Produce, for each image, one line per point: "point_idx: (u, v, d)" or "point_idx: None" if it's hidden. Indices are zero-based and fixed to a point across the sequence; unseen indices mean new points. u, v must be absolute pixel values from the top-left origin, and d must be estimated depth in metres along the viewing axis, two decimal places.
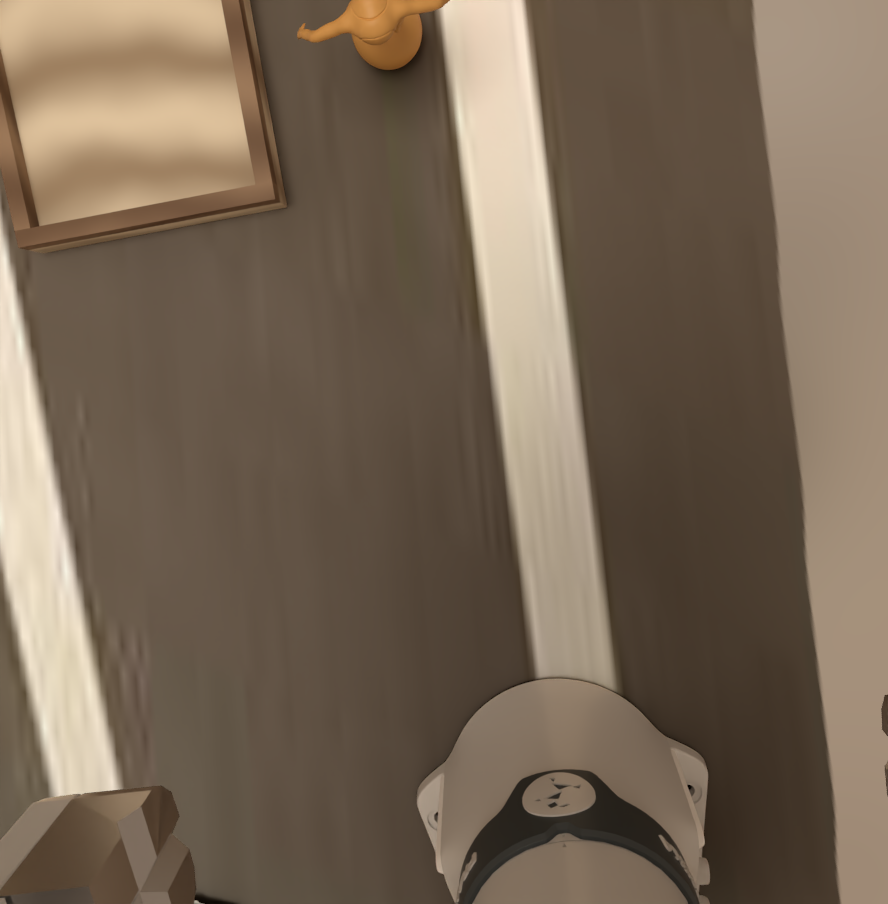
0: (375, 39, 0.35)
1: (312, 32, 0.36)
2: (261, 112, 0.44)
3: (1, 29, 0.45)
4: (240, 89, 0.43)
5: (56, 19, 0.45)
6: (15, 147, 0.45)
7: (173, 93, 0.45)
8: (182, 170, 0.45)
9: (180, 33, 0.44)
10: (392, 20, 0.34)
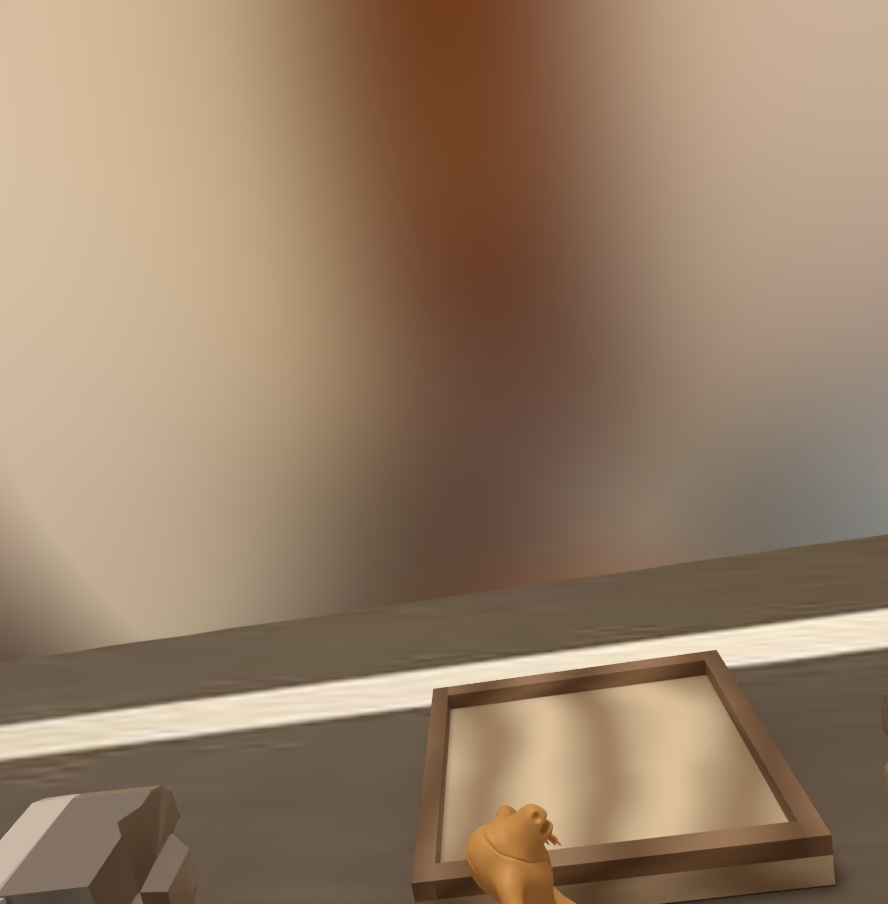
0: None
1: None
2: None
3: (637, 687, 0.47)
4: (551, 852, 0.34)
5: (647, 719, 0.43)
6: (523, 689, 0.48)
7: (565, 803, 0.38)
8: (479, 809, 0.39)
9: (633, 811, 0.37)
10: (486, 868, 0.22)
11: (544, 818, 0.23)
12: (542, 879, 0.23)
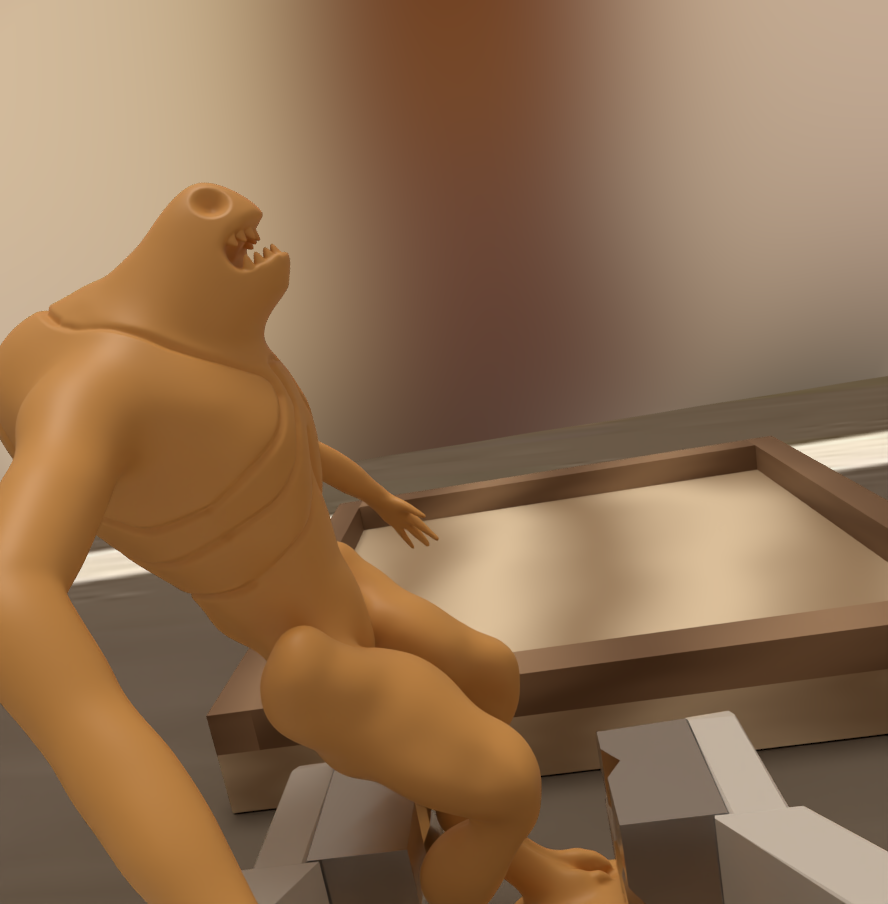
0: None
1: None
2: None
3: (649, 488, 0.30)
4: None
5: (667, 515, 0.27)
6: (474, 496, 0.31)
7: (524, 611, 0.21)
8: None
9: (647, 612, 0.20)
10: (16, 378, 0.06)
11: (241, 210, 0.06)
12: (234, 413, 0.06)
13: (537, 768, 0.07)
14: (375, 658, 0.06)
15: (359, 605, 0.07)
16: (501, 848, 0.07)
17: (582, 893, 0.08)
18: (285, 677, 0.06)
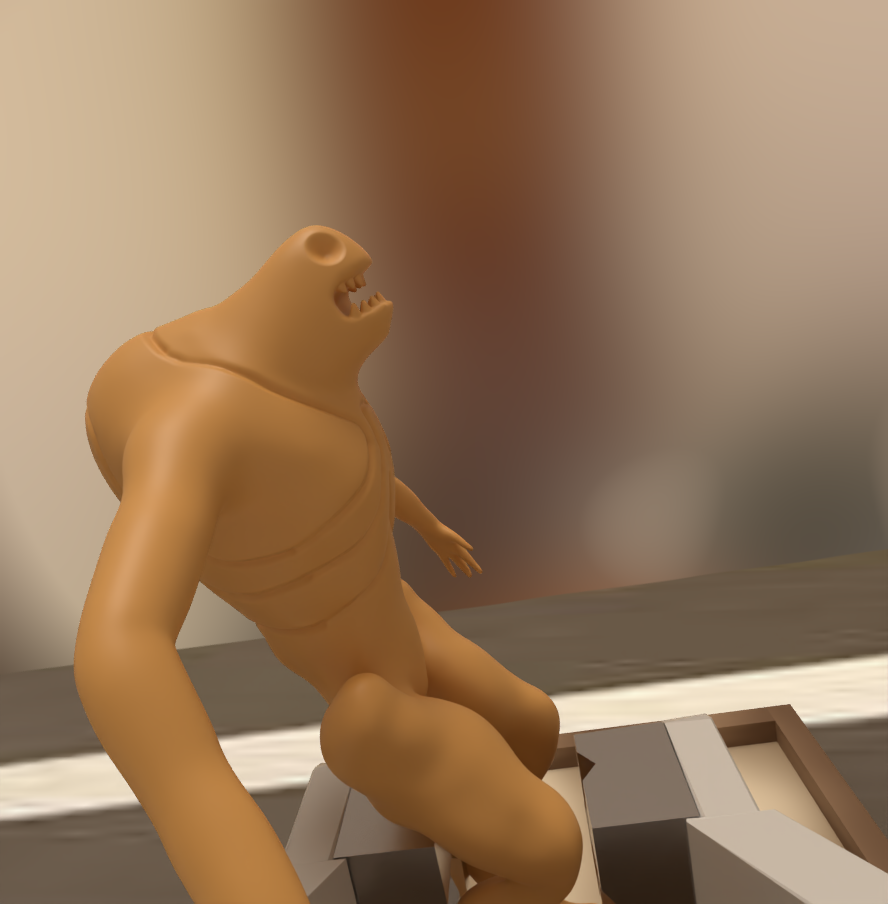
0: None
1: None
2: None
3: None
4: None
5: None
6: None
7: None
8: None
9: None
10: (119, 403, 0.06)
11: (354, 258, 0.06)
12: (328, 461, 0.06)
13: (581, 838, 0.07)
14: (434, 711, 0.07)
15: (418, 651, 0.07)
16: None
17: None
18: (349, 725, 0.06)
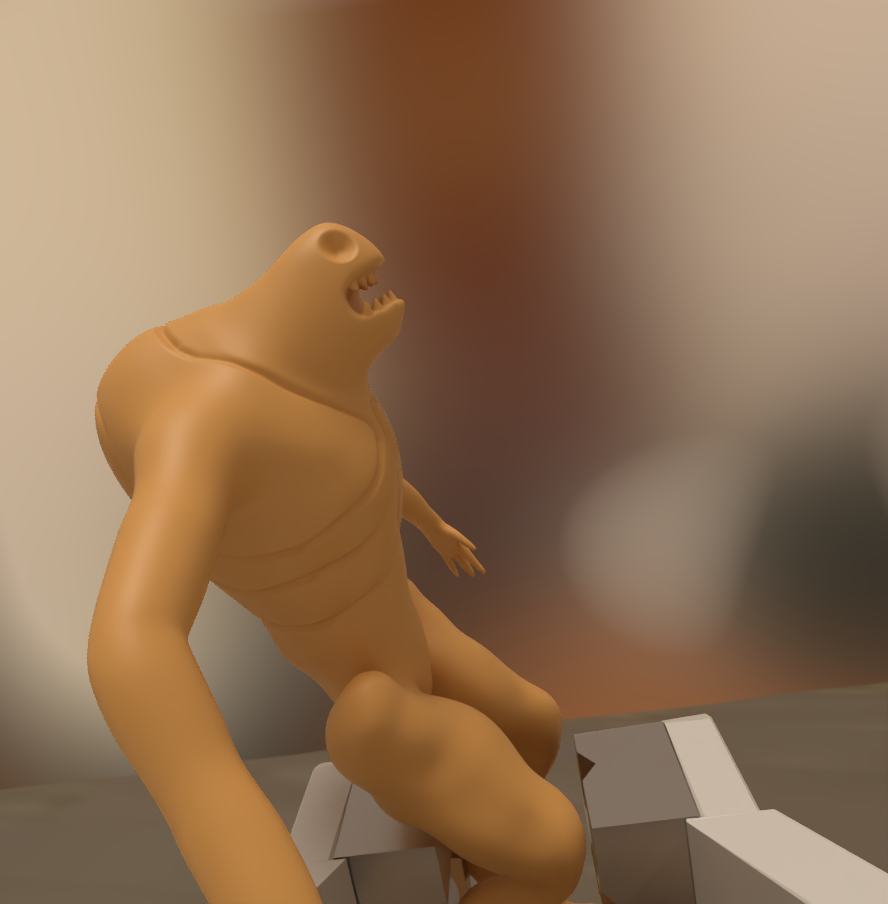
0: None
1: None
2: None
3: None
4: None
5: None
6: None
7: None
8: None
9: None
10: (130, 397, 0.06)
11: (367, 256, 0.06)
12: (338, 459, 0.06)
13: (584, 838, 0.07)
14: (439, 710, 0.07)
15: (423, 650, 0.07)
16: None
17: None
18: (356, 723, 0.06)
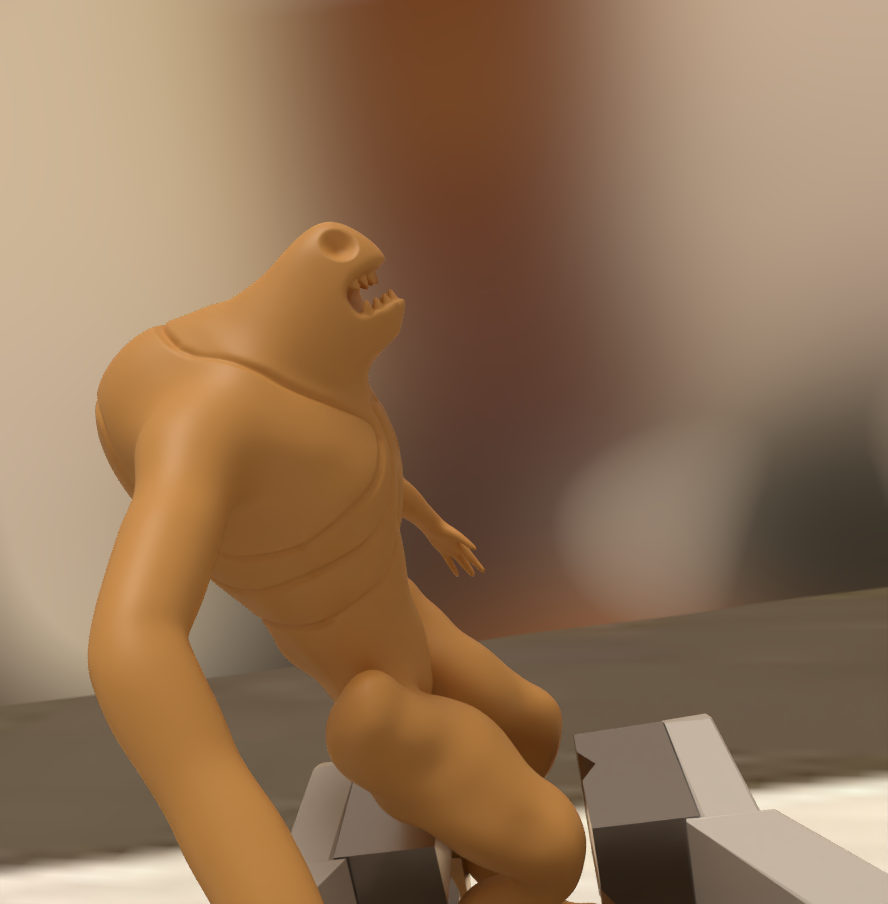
0: None
1: None
2: None
3: None
4: None
5: None
6: None
7: None
8: None
9: None
10: (131, 396, 0.06)
11: (367, 255, 0.06)
12: (339, 458, 0.06)
13: (584, 837, 0.07)
14: (440, 709, 0.07)
15: (423, 649, 0.07)
16: None
17: None
18: (356, 722, 0.06)
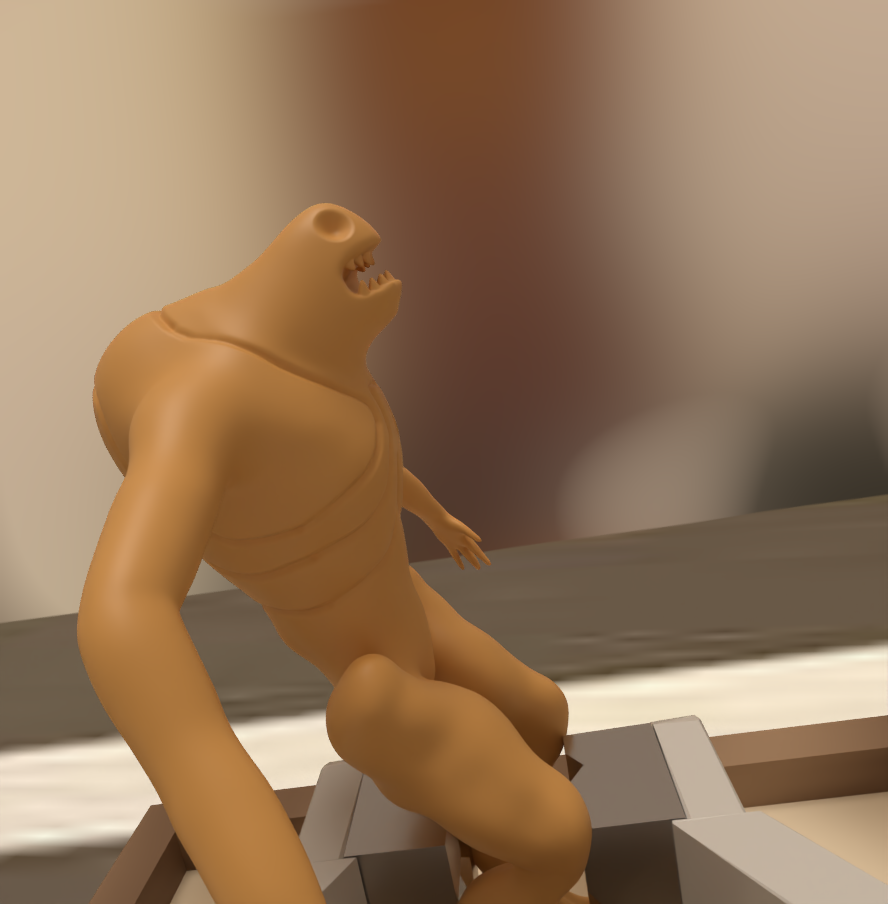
0: None
1: None
2: None
3: None
4: None
5: None
6: None
7: None
8: None
9: None
10: (127, 379, 0.06)
11: (363, 235, 0.06)
12: (336, 438, 0.06)
13: (590, 824, 0.06)
14: (441, 694, 0.06)
15: (425, 635, 0.07)
16: (543, 898, 0.07)
17: None
18: (356, 705, 0.06)
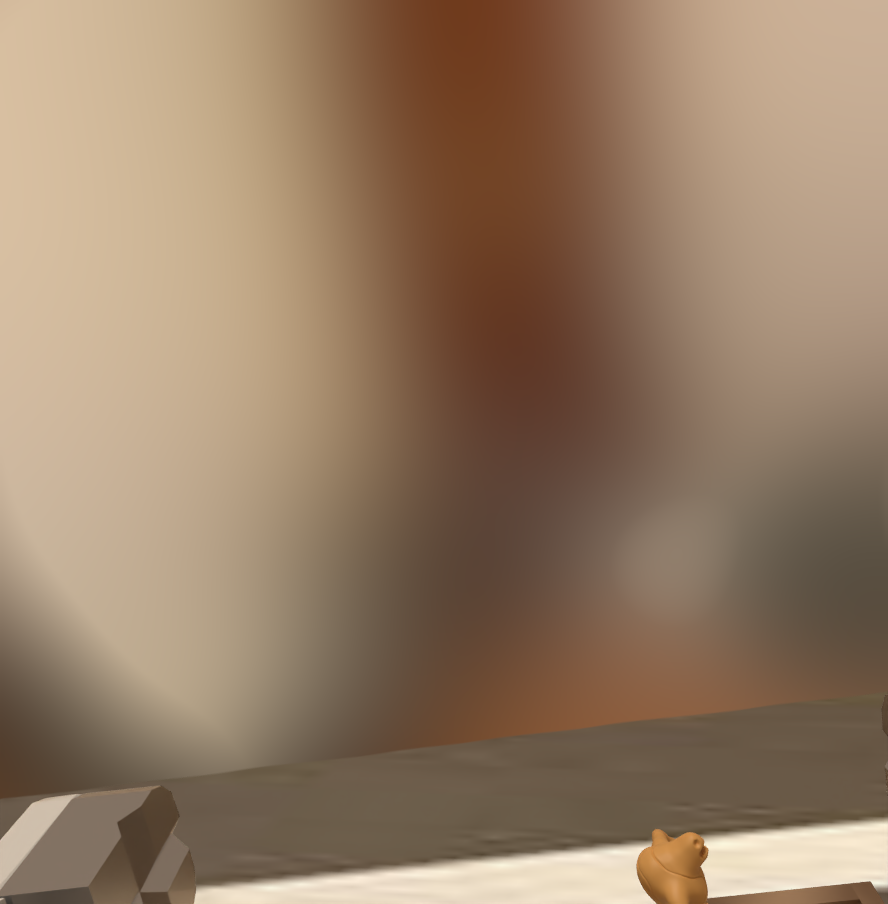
0: (637, 864, 0.30)
1: (661, 830, 0.33)
2: None
3: None
4: None
5: None
6: None
7: None
8: None
9: None
10: (657, 881, 0.29)
11: (702, 844, 0.29)
12: (701, 892, 0.29)
13: None
14: None
15: None
16: None
17: None
18: None
